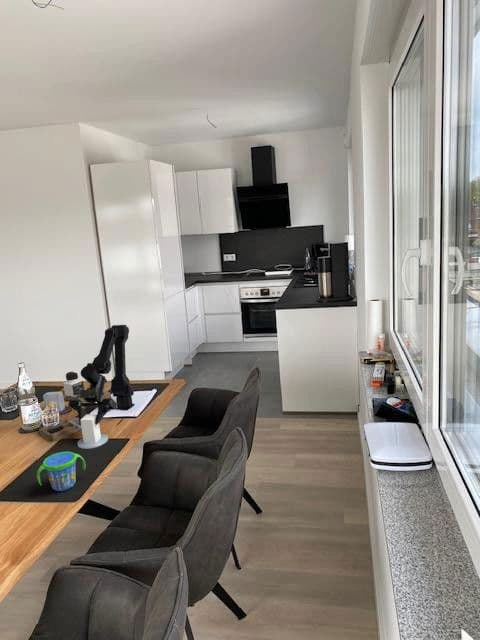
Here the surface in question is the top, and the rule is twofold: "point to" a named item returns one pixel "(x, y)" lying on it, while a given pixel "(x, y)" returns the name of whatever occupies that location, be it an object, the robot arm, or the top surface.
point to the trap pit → (76, 422)
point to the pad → (93, 445)
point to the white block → (90, 429)
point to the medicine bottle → (73, 384)
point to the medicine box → (54, 399)
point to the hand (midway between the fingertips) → (88, 424)
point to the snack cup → (61, 470)
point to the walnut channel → (59, 434)
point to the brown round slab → (106, 395)
